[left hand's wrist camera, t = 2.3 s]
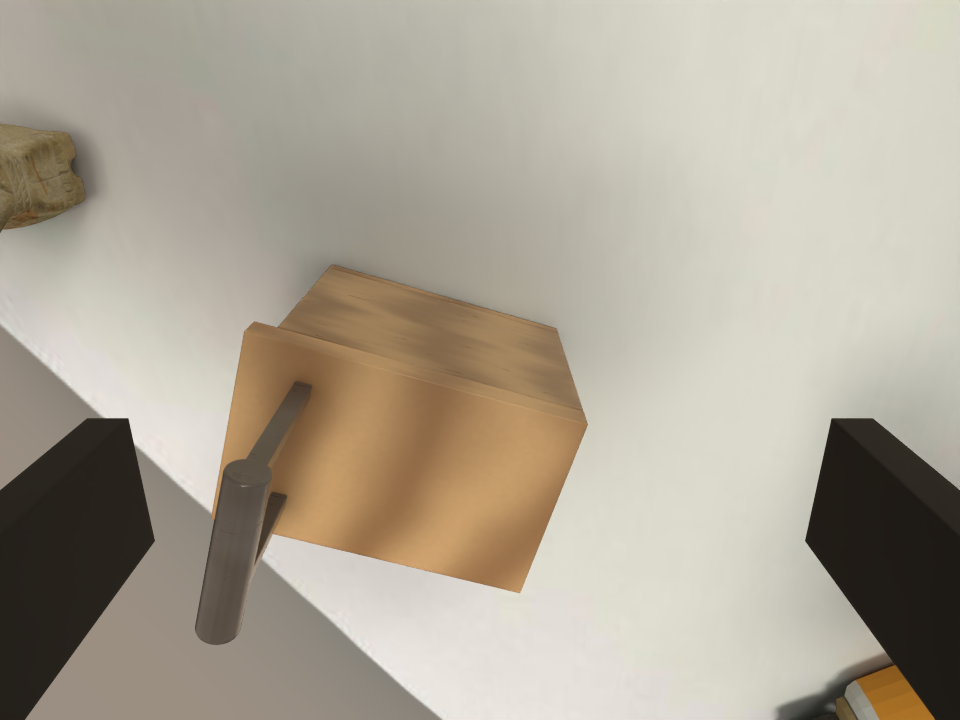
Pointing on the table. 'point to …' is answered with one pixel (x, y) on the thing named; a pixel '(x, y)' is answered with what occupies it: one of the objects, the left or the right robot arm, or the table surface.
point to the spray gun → (879, 699)
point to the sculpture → (36, 176)
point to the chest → (435, 334)
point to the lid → (378, 468)
